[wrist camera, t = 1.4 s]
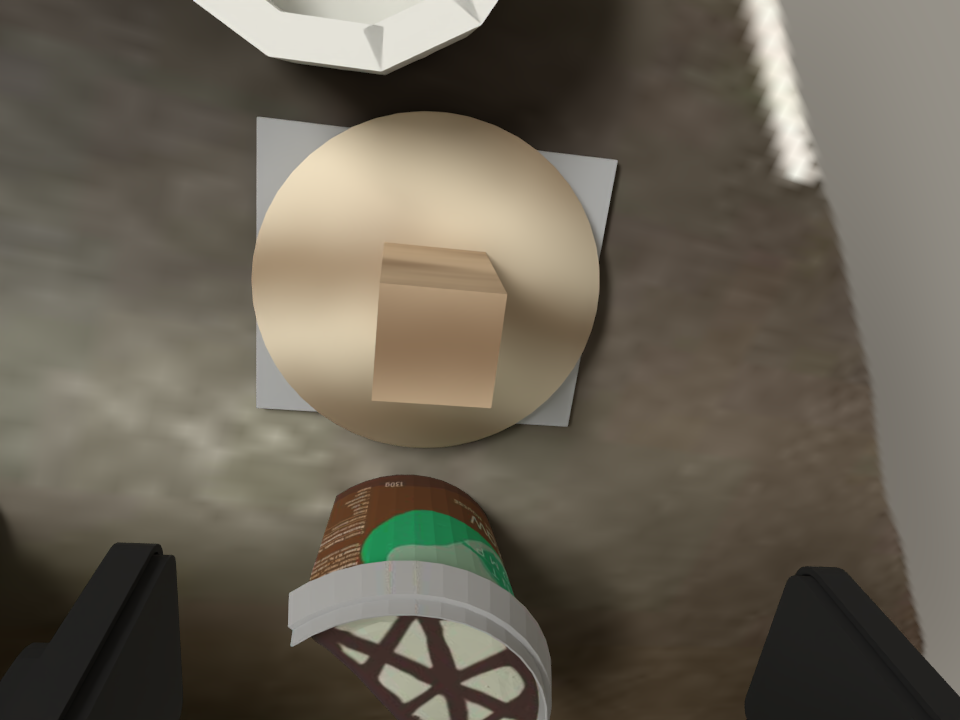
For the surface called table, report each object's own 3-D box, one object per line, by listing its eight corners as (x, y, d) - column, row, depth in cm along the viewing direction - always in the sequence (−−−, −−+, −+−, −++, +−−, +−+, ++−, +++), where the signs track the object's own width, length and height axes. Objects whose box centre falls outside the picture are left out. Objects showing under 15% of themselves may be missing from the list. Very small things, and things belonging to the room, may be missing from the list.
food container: (564, 569, 35) (623, 742, 26) (469, 630, 36) (492, 818, 26) (420, 400, 30) (429, 536, 21) (315, 475, 31) (279, 636, 22)
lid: (563, 445, 32) (605, 536, 25) (256, 428, 30) (215, 522, 23) (622, 134, 27) (693, 148, 20) (256, 88, 25) (205, 87, 18)
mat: (565, 422, 32) (567, 426, 31) (258, 403, 30) (256, 407, 29) (614, 159, 27) (617, 160, 27) (258, 116, 25) (256, 116, 25)
